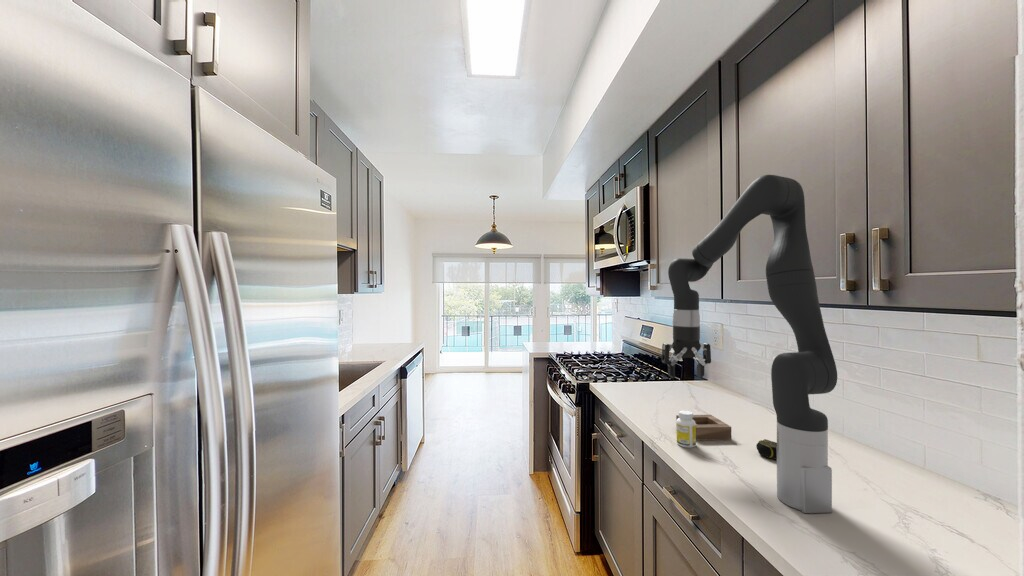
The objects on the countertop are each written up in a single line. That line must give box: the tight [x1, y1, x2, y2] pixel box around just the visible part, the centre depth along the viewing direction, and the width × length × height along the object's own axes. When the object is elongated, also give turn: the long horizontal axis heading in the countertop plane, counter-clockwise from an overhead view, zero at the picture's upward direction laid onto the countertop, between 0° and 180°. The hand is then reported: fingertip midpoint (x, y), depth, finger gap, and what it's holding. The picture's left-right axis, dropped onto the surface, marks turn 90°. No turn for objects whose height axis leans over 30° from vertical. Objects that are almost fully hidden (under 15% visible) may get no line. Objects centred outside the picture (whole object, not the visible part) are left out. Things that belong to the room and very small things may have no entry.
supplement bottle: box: [675, 410, 697, 449], centre depth 121 cm, size 5×5×10 cm
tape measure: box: [755, 439, 777, 460], centre depth 113 cm, size 7×7×4 cm
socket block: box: [675, 414, 732, 441], centre depth 131 cm, size 12×12×4 cm
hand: (686, 377), depth 121 cm, fingers open, 8 cm apart
